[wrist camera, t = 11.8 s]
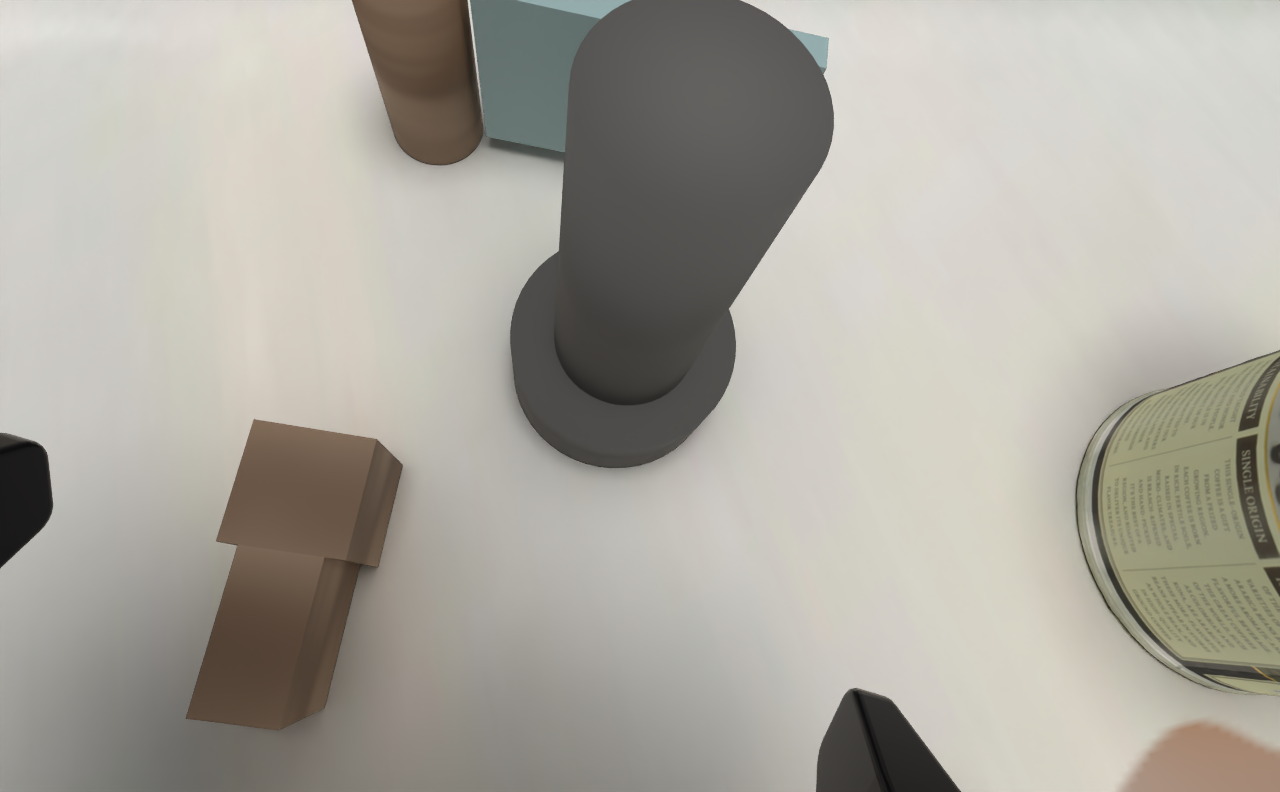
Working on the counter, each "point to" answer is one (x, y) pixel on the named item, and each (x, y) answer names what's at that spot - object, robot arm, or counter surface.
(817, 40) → the door
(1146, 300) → the counter surface
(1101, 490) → the coffee can
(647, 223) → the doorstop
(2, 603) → the counter surface
